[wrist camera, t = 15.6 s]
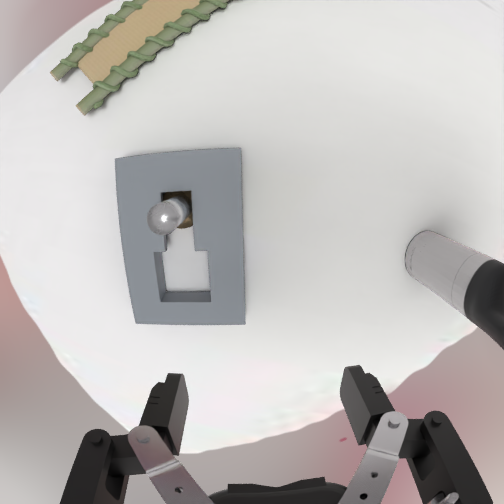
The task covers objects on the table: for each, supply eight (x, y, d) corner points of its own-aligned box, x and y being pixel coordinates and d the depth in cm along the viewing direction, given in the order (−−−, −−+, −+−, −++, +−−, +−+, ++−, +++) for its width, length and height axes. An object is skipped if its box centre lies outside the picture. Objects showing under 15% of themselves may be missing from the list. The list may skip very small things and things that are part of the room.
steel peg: (203, 183, 41) (188, 188, 30) (205, 225, 43) (191, 246, 31) (161, 186, 41) (133, 193, 29) (164, 227, 43) (138, 248, 31)
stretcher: (96, 122, 38) (81, 118, 33) (59, 76, 34) (44, 70, 29) (284, -18, 31) (288, -33, 26) (231, -53, 28) (231, -68, 23)
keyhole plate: (240, 149, 40) (240, 147, 36) (245, 312, 47) (245, 324, 43) (125, 159, 39) (115, 158, 36) (142, 312, 47) (135, 323, 43)
